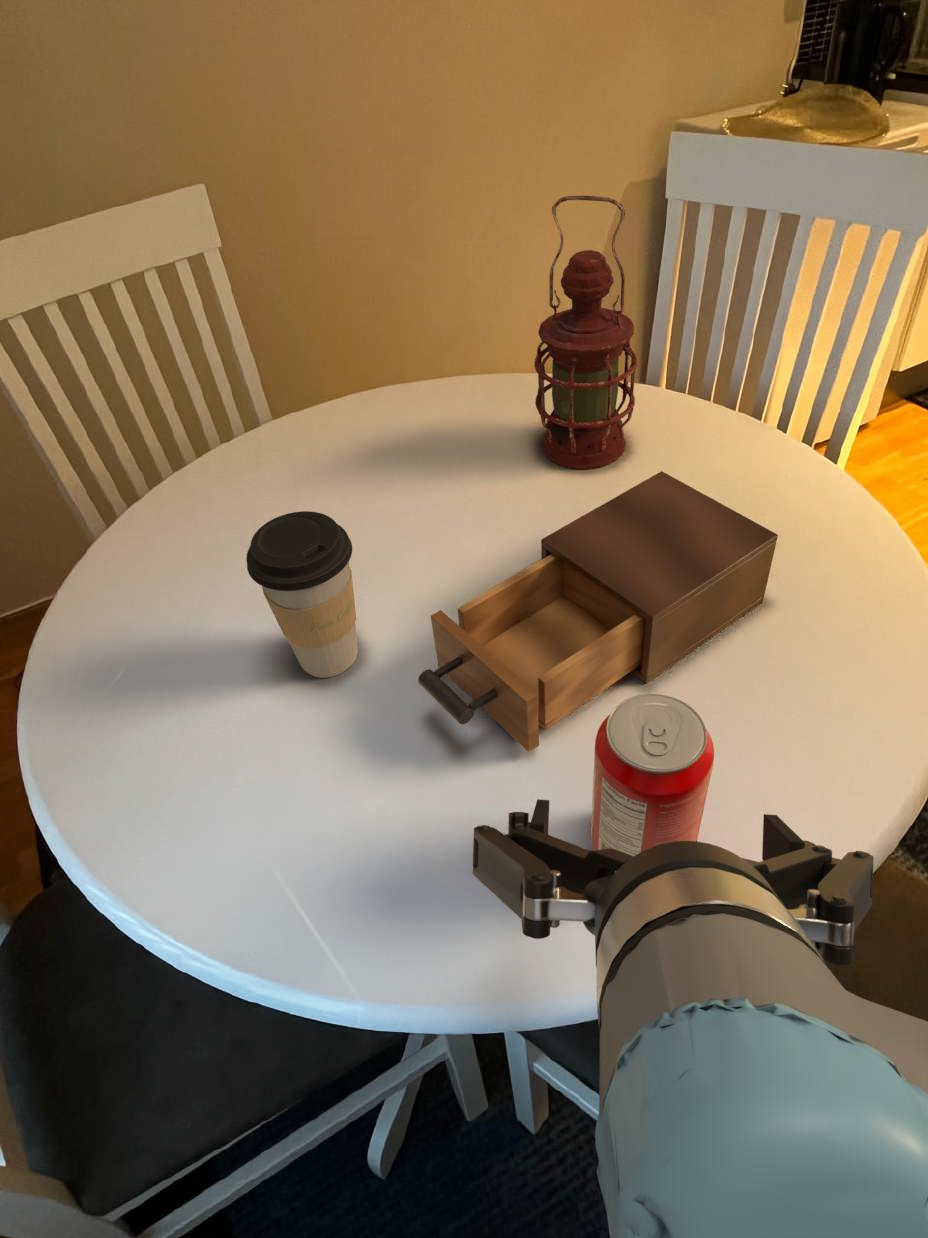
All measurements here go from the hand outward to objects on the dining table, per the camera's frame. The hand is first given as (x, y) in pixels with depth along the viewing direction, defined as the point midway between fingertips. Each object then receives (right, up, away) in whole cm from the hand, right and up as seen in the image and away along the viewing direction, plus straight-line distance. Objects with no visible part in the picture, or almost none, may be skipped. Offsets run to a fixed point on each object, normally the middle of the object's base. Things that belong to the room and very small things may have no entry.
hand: (653, 829), depth 51 cm
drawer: (-6, +7, +27) cm, 28 cm away
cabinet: (+7, +14, +34) cm, 37 cm away
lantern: (+4, +35, +55) cm, 66 cm away
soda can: (+2, -5, +14) cm, 15 cm away
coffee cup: (-25, +9, +32) cm, 42 cm away
